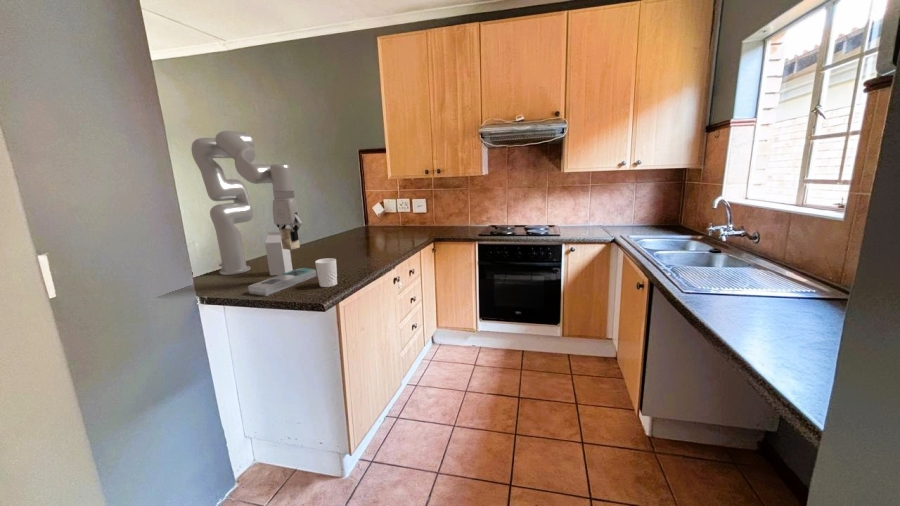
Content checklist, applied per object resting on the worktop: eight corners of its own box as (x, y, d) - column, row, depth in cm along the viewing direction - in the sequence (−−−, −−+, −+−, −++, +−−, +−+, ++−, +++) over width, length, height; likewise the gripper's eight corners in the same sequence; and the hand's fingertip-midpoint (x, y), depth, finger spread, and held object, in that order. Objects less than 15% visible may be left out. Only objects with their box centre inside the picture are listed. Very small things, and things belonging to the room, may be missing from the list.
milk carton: (285, 275, 160) (279, 233, 156) (270, 275, 161) (263, 233, 156) (292, 271, 167) (287, 230, 163) (277, 271, 168) (271, 230, 163)
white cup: (342, 282, 148) (339, 258, 145) (331, 288, 140) (328, 263, 138) (325, 281, 150) (322, 257, 147) (313, 287, 142) (310, 262, 140)
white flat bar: (266, 295, 134) (264, 287, 133) (249, 293, 138) (247, 285, 137) (316, 276, 157) (315, 269, 157) (300, 274, 161) (300, 267, 160)
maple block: (282, 249, 148) (280, 229, 146) (291, 246, 152) (289, 227, 151) (291, 249, 147) (288, 230, 145) (299, 247, 151) (297, 228, 149)
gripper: (261, 196, 145) (267, 241, 149) (292, 196, 138) (298, 243, 142) (276, 195, 151) (282, 237, 155) (307, 194, 145) (312, 239, 149)
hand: (290, 240), depth 149 cm, fingers closed on maple block, 4 cm apart
